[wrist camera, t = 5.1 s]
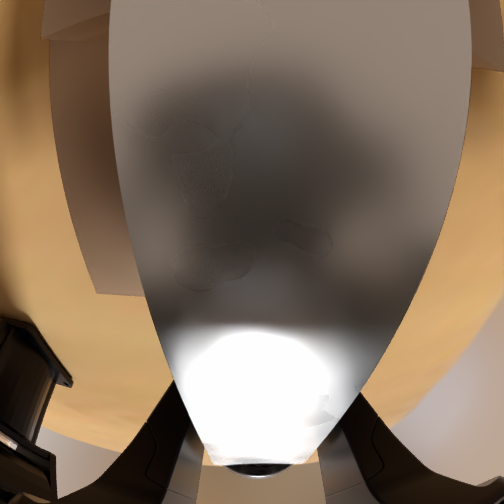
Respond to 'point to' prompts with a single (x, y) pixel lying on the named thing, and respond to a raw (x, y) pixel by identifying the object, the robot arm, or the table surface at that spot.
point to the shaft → (283, 197)
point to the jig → (101, 135)
